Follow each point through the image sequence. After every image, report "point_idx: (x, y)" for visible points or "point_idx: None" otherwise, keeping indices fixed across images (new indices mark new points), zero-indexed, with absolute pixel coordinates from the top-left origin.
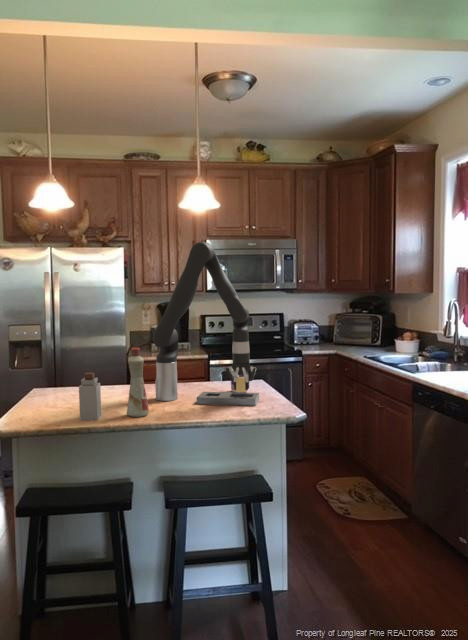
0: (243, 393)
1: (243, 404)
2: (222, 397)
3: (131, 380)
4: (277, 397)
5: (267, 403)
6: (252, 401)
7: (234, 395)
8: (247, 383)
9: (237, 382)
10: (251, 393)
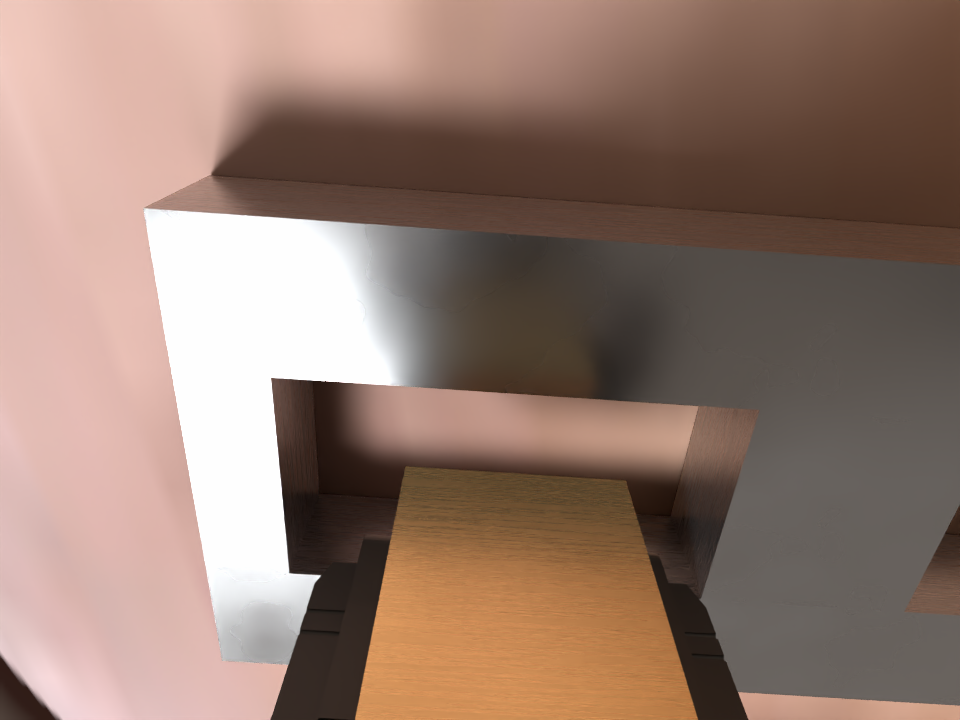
0: None
1: (444, 197)
2: (928, 318)
3: None
4: (49, 672)
5: (57, 362)
6: (237, 196)
7: None
8: (315, 699)
9: (643, 694)
10: None
